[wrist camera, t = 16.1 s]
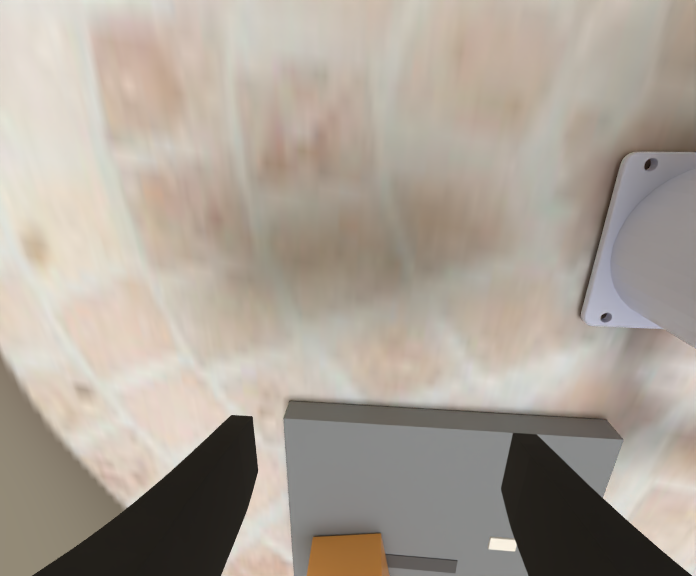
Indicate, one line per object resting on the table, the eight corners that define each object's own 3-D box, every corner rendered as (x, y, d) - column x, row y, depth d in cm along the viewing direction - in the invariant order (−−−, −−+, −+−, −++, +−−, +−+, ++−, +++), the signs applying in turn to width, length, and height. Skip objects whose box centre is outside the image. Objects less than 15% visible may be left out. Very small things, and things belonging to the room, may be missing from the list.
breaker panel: (606, 419, 20) (631, 448, 18) (553, 580, 25) (568, 617, 23) (289, 400, 21) (280, 426, 19) (298, 558, 26) (292, 590, 24)
